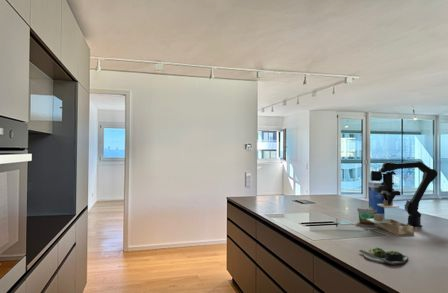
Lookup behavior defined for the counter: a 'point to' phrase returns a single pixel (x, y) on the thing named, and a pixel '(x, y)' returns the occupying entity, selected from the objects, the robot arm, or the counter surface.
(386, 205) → the lid
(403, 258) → the salad plate
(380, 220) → the cover
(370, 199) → the string lights box
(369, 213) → the food container
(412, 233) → the box
